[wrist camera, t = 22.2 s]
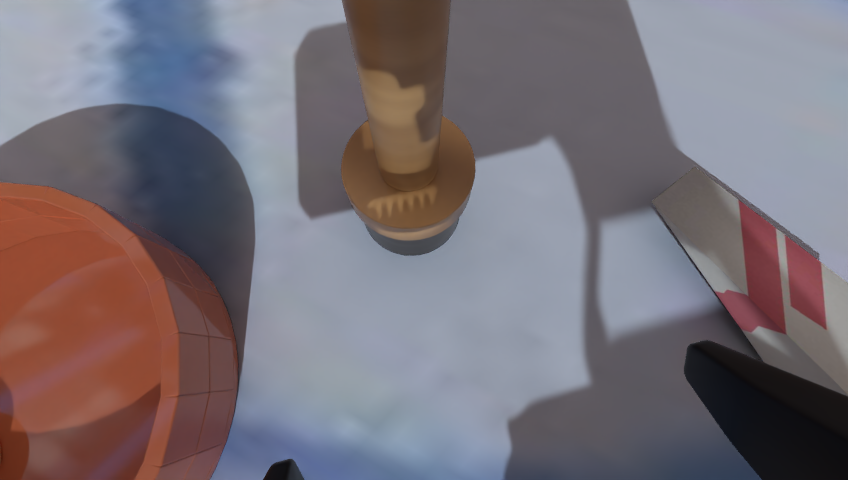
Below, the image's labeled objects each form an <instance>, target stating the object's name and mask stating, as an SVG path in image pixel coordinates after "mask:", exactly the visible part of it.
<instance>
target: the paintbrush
mask: <svg viewBox="0 0 848 480" xmlns="http://www.w3.org/2000/svg"><path fill="white" fill-rule="evenodd" d="M651 202H652V203H653V204H654V206H655V207H656V209H657V210H658V212H659V213H660V214H661V216H662V217H663V219H664V220H665V222H666V223H667V224H668V226H669V227H670V229H671V230H672V231H673V233H674V234H675V236H676V237H677V239H678V240H679V241H680V243H681V244H682V246H683V247H684V249H685V250H686V251H687V253H688V254H689V256H690V257H691V259H692V260H693V261H694V263H695V264H696V266H697V267H698V269H699V270H700V271H701V273H702V274H703V276H704V277H705V279H706V280H707V281H708V283H709V284H710V286H711V287H712V289H713V290H714V291H715V293H716V294H717V296H718V297H719V299H720V300H721V301H722V303H723V304H724V306H725V307H726V308H727V310H728V311H729V313H730V314H731V316H732V317H733V318H734V320H735V321H736V323H737V324H738V326H739V327H740V328H741V330H742V331H743V333H744V334H745V336H746V337H747V338H748V340H749V341H750V343H751V344H752V346H753V347H754V348H755V350H756V351H757V353H758V354H759V356H760V357H761V358H762V360H763V361H764V363H767V364H769V365H772V366H774V367H777V368H779V369H782V370H784V371H787V372H789V373H792V374H794V375H797V376H799V377H802V378H804V379H807V380H809V381H812V382H814V383H817V384H819V385H821V386H824V387H826V388H829V389H831V390H834V391H836V392H839V393H841V394H844V395H846V396H848V283H847V282H846V281H845V280H844V279H842V278H841V277H840V276H838V275H837V274H836V273H834V272H833V271H832V270H830V269H829V268H828V267H826V266H825V265H824V264H822V263H821V262H820V261H818V260H817V259H816V258H815V257H813V256H812V255H811V254H809V253H808V252H807V251H805V250H804V249H803V248H801V247H800V246H799V245H797V244H796V243H795V242H793V241H792V240H791V239H789V238H788V237H787V236H786V235H784V234H783V233H782V232H780V231H779V230H778V229H776V228H775V227H774V226H772V225H771V224H770V223H768V222H767V221H766V220H764V219H763V218H762V217H760V216H759V215H758V214H757V213H755V212H754V211H753V210H751V209H750V208H749V207H747V206H746V205H745V204H743V203H742V202H741V201H739V200H738V199H737V198H735V197H734V196H733V195H731V194H730V193H729V192H727V191H726V190H725V189H724V188H722V187H721V186H720V185H718V184H717V183H716V182H714V181H713V180H712V179H710V178H709V177H708V176H706V175H705V174H704V173H702V172H701V171H700V170H698V169H697V168H696V167H694V168H693V169H691V170H690V171H689V172H688V173H686V174H685V175H684V176H683V177H681V178H680V179H679V180H678V181H676V182H675V183H674V184H673V185H671V186H670V187H669V188H668V189H666V190H665V191H664V192H663V193H661V194H660V195H659V196H658V197H656V198H655V199H654V200H653V201H651Z"/></svg>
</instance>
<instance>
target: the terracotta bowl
mask: <svg viewBox="0 0 848 480" xmlns="http://www.w3.org/2000/svg"><path fill="white" fill-rule="evenodd" d="M237 389H238V358H237V348H236V340H235V336H234V331H233V327H232V323H231V319H230V317H229V314H228V312H227V309H226V307H225V304H224V302H223V299H222V297H221V296H220V294H219V292H218V290H217V289H216V287H215V285H214V284H213V282H212V280H211V279H210V278H209V277H208V275H207V274H206V273H205V272H204V271H203V269H202V268H201V267H200V266H199V265H198V264H197V263H196V262H195V261H194V260H193V259H192V258H191V257H190V256H188V255H187V254H186V253H185V252H184V251H182V250H181V249H179V248H178V247H176V246H175V245H173V244H172V243H170V242H169V241H167V240H166V239H165V238H164V237H162V236H160V235H158V234H156V233H154V232H152V231H150V230H148V229H146V228H144V227H142V226H140V225H138V224H136V223H134V222H132V221H130V220H128V219H126V218H124V217H122V216H120V215H118V214H116V213H114V212H112V211H110V210H108V209H106V208H104V207H102V206H100V205H98V204H96V203H93V202H91V201H88V200H85V199H83V198H80V197H77V196H75V195H72V194H69V193H67V192H64V191H61V190H59V189H56V188H53V187H49V186H39V185H28V184H16V183H5V182H0V446H1V463H0V480H210V478H211V476H212V474H213V472H214V470H215V469H216V466H217V464H218V461H219V459H220V456H221V454H222V451H223V449H224V446H225V444H226V441H227V437H228V434H229V430H230V426H231V423H232V419H233V415H234V409H235V403H236V396H237Z"/></svg>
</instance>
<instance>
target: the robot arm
mask: <svg viewBox="0 0 848 480" xmlns="http://www.w3.org/2000/svg"><path fill="white" fill-rule="evenodd" d="M684 374H685V377H686V379H687V381H688V382H689V384H690V385H691V387H692V388H693V389H694V391H695V392H696V394H697V395H698V397H699V398H700V399H701V401H702V402H703V404H704V405H705V406H706V408H707V409H708V411H709V412H710V414H711V415H712V416H713V418H714V419H715V421H716V422H717V424H718V425H719V426H720V428H721V429H722V431H723V432H724V434H725V435H726V436H727V438H728V439H729V440H730V442H731V443H732V444H733V445H734V447H735V448H736V449H737V450H738V452H739V453H740V454H741V455H742V456H743V458H744V459H745V460H746V461H747V462H748V464H749V465H750V466H751V467H752V468H753V469H754V471H755V472H756V473H757V474H758V475H759V477H760V478H761V479H762V480H848V396H846V395H844V394H841V393H839V392H836V391H834V390H831V389H829V388H826V387H824V386H821V385H819V384H817V383H814V382H812V381H809V380H807V379H804V378H802V377H799V376H797V375H794V374H792V373H789V372H787V371H784V370H782V369H779V368H777V367H774V366H772V365H769V364H767V363H764V362H762V361H759V360H757V359H754V358H752V357H749V356H747V355H744V354H742V353H740V352H737V351H735V350H732V349H730V348H727V347H725V346H722V345H720V344H717V343H715V342H712V341H708V340H704V341H700V342H696V343H693V344H690V345H689V346H688V348H687V353H686V359H685V365H684ZM263 480H304V478H303V476H302V474H301V472H300V470H299V468H298V467H297V465H296V463H295V461H294V460H293V459H287V460H283V461H280V462H276V463H274V464H273V465H272V466H271V467H270V469H269V470H268V472H267V474H266V476H265V477H264V479H263Z"/></svg>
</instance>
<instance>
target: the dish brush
mask: <svg viewBox="0 0 848 480" xmlns="http://www.w3.org/2000/svg"><path fill="white" fill-rule="evenodd" d="M342 3H343V8H344V12H345V17H346V22H347V26H348V31H349V35H350V40H351V44H352V49H353V53H354V58H355V63H356V67H357V72H358V76H359V81H360V85H361V90H362V94H363V99H364V104H365V108H366V113H367V117H368V120H367V121H366V122H365V123H364V124H362V125H361V126H360V127H359V128H358V129H357V130H356V131H355V132H354V134H353V135H352V137H351V138H350V140H349V142H348V143H347V145H346V148H345V150H344V153H343V157H342V163H341V175H342V181H343V185H344V188H345V190H346V193H347V195H348V197H349V200H350V202H351V204H352V207H353V208H354V210H355V212H356V214H357V215H358V216H359V218H360V219H361V220H362V221H363V222H364V223H365V225H366V228H367V230H368V232H369V234H370V235H371V236H372V238H373V239H374V240H375V241H376V242H377V243H378V244H379V245H381V246H382V247H383V248H385V249H387V250H389V251H391V252H394V253H397V254H401V255H421V254H425V253H428V252H431V251H433V250H435V249H437V248H439V247H440V246H441V245H443V244H444V243H445V242H446V241H447V240H448V239H449V238H450V237H451V235H452V234H453V232H454V230H455V229H456V226H457V224H458V220H459V217H460V215H461V214H462V212H463V211H464V209H465V207H466V205H467V203H468V200H469V197H470V193H471V189H472V186H473V182H474V178H475V158H474V154H473V151H472V147H471V145H470V143H469V141H468V139H467V138H466V136H465V135H464V133H463V132H462V131H461V130H460V129H459V128H458V127H457V126H456V125H455V124H454V123H453V122H451V121H450V120H449V119H447V118H446V117H444V116H442V108H443V95H444V82H445V70H446V57H447V44H448V31H449V19H450V6H451V0H342Z"/></svg>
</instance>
